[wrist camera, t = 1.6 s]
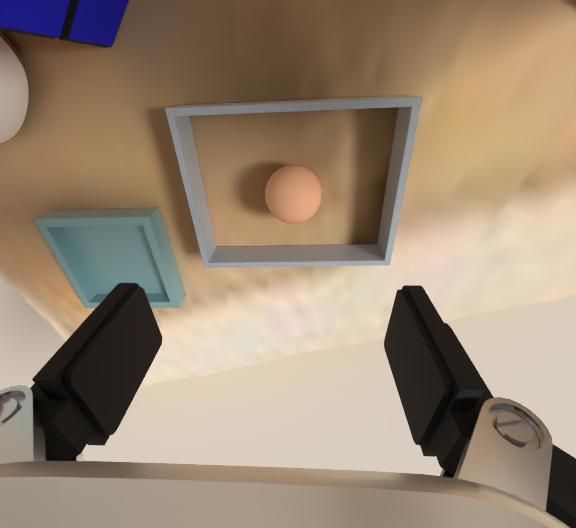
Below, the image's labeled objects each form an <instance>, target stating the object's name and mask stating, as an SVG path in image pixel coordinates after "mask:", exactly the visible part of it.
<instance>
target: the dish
mask: <svg viewBox="0 0 576 528" xmlns="http://www.w3.org/2000/svg"><path fill="white" fill-rule="evenodd" d="M33 220H34V222H35V223H36V225H37V227H38V229H39V230H40V232H41V234H42V235H43V237H44V239H45V241H46V242H47V244H48V246H49V247H50V249H51V251H52V253H53V254H54V256H55V258H56V259H57V261H58V263H59V264H60V266H61V268H62V270H63V271H64V273H65V275H66V276H67V278H68V280H69V282H70V283H71V285H72V287H73V288H74V290H75V292H76V293H77V295H78V297H79V299H80V300H81V302H82V304H83V305H84V307H85V308H96V307H97V306H98V305H99V304H100V303H101V302H102V301H103V300H104V299H105V297H106V296H107V295H108V294H109V293H110V292H111V291H112V290H113V289H114V287H115V286H116V285H117V284H119V283H137V284H139V286H140V287H142V288H143V289H144V291H145V293H146V296H147V299H148V301H149V304H150V306H151V308H179V307H180V306H181V304H182V302H183V300H184V298H185V296H186V294H185V291H184V287H183V284H182V281H181V278H180V274H179V271H178V268H177V265H176V262H175V258H174V255H173V252H172V249H171V245H170V242H169V239H168V236H167V233H166V229H165V226H164V223H163V220H162V216H161V213H160V210H159V208H123V209H81V210H50V211H48V212H46V213H44V214H42V215H41V216H39V217H37V218H35V219H33Z"/></svg>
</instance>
